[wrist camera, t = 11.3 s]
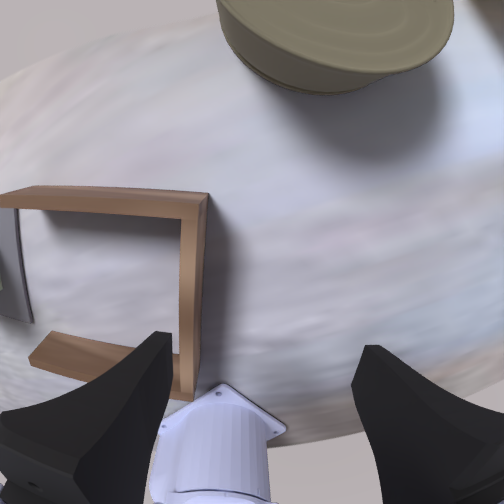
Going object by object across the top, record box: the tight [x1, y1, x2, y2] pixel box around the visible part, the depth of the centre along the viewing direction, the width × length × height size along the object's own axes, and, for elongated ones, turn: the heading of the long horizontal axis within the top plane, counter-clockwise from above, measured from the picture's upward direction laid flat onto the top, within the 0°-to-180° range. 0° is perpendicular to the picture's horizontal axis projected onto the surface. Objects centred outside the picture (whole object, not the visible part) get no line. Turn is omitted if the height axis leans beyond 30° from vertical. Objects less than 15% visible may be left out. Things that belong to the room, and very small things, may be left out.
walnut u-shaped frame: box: [0, 186, 209, 402], centre depth 18 cm, size 13×13×4 cm
